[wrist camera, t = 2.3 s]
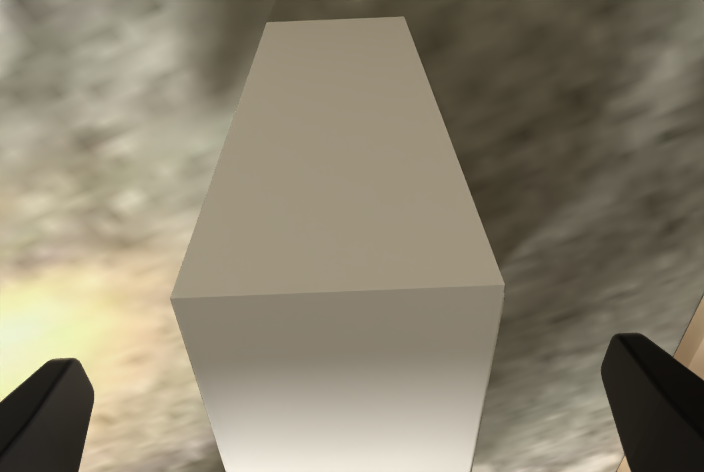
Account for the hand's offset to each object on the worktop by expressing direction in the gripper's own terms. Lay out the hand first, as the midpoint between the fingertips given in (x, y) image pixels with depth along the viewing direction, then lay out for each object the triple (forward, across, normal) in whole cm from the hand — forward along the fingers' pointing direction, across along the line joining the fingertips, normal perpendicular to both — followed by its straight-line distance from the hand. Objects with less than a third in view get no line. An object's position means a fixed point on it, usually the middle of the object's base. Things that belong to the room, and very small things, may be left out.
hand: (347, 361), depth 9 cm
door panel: (+4, 0, 0) cm, 4 cm away
